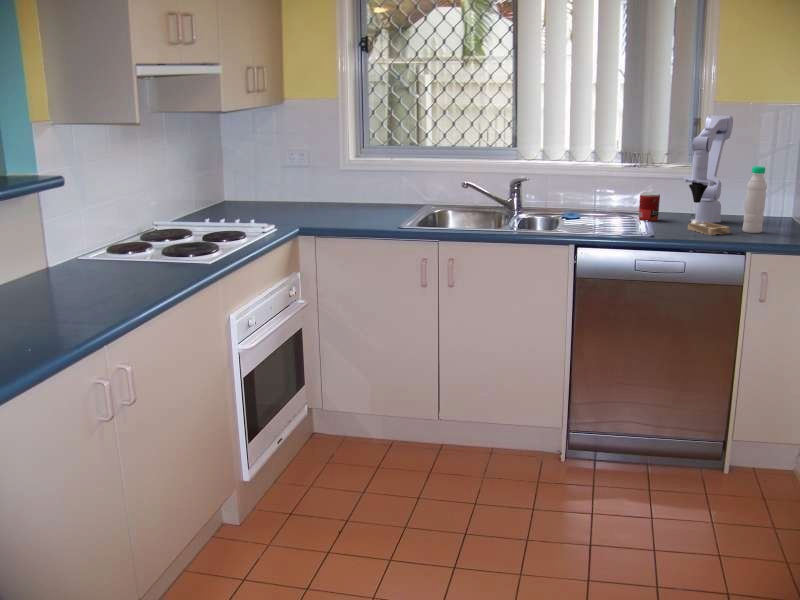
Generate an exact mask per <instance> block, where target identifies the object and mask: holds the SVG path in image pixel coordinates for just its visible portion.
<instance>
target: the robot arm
mask: <svg viewBox="0 0 800 600" xmlns="http://www.w3.org/2000/svg"><path fill="white" fill-rule="evenodd" d="M733 127H734V117H733V115H713V114H712V115H711V114H709V115H707V116H706V119H705V128H703V129H702V130H701V132H700V133H699V134H698V136H695V137H693V139H692V142H691V144H692V145H691V149H692V152H691V153H692V154H691V155H692V165H691V167H692V169H691V176H684V177H683V183H690V184H688V186H689V189H690V191H691V194H692V199H693V203H694V204H695V203H696V205H695V206H696V207H695V218H693V219H690V221H691V222H692V221H693V220H697V221H701V222H702V223H703V222H709V223H714V224H718V223H721V222H722V221H721V214H722V213H721V211H722V203H721V201H720V200H719V199H720V197H721V193H722V182H721V180H720V179H719V178H717V176H718V175H717V174H718V170H719V166H720V161H721V157H722V153H723V150H724V149H723V148H724V144H725V143H726V140H728V139H730V138H731V135H732V131H733Z"/></svg>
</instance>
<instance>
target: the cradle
mask: <svg viewBox="0 0 800 600" xmlns="http://www.w3.org/2000/svg"><path fill="white" fill-rule="evenodd" d="M703 224H704V225H708V226H709V227H705V226H701V225H697V224H692V223H691V222H690V223H688V224H687V231H690V230H692V231H691V232H694V231H696V232H695V233H698V232H700V233H699V234H703V233H704V234H703V235H707V234H708V236H717V235H716V234H720V235H726V234H725V233H729V234H730V230H731V227H730V226H727V225H722V224H719V223H709V222H703Z"/></svg>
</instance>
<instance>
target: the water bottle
mask: <svg viewBox="0 0 800 600" xmlns="http://www.w3.org/2000/svg"><path fill="white" fill-rule="evenodd" d="M765 173H766V167H765V166H753V167H751V174H752V176H751V178H750V180H749V181H748V183H747V184H746V193H745V194H746V195H745V199H744V200H745V202H744V214H743V224H742V232H744V233H746V232H747V234H761V233H762V232H763V222H764V212H765V207H766V206H765V205H766V197H767V195H766V194H767V188H768V186H767V183H766V180H765V177H764V175H765Z"/></svg>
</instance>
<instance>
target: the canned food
mask: <svg viewBox="0 0 800 600" xmlns="http://www.w3.org/2000/svg"><path fill="white" fill-rule="evenodd" d="M660 198H661V194H660V193H657V192H650V191H649V192H648V191H647V192H640V194H639V204H638V205H639V206H638V207H639V208H638V220H639V221H641V220H648V221H647V222H650V221H652V222H657V221H658V220H659V213H660V212H659V210H660V203H661V202H660V200H661V199H660Z"/></svg>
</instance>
